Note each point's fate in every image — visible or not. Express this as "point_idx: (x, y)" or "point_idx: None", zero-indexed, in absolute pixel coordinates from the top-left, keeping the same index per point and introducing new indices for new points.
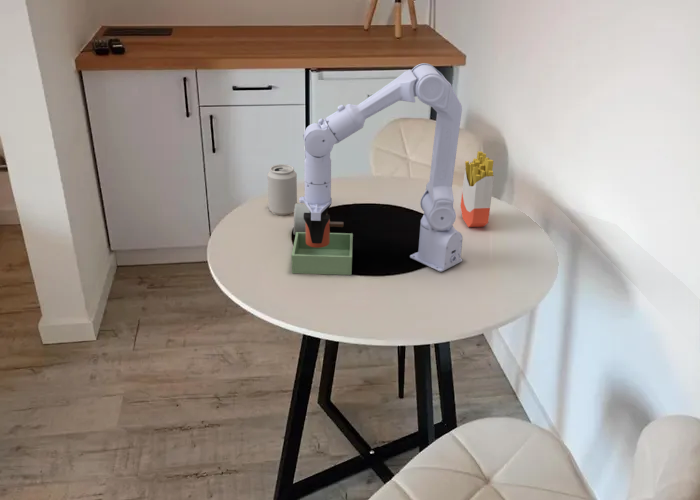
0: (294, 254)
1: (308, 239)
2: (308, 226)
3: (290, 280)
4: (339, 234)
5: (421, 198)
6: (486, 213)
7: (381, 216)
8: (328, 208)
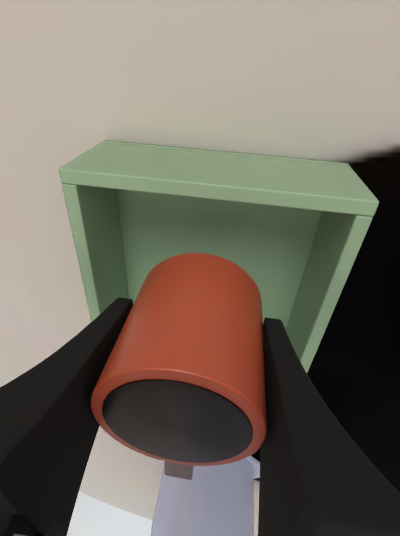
0: (74, 185)
1: (149, 285)
2: (15, 380)
3: (46, 133)
4: None
5: None
6: None
7: None
8: (258, 528)
